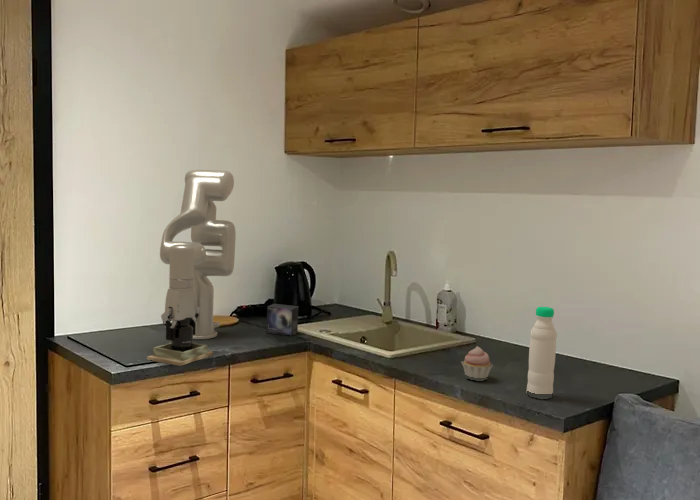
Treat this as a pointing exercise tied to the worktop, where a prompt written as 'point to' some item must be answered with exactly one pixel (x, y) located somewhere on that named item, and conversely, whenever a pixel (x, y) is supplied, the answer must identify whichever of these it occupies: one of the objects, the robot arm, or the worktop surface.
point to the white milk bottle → (542, 353)
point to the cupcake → (477, 363)
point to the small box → (282, 319)
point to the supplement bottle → (183, 336)
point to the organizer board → (179, 354)
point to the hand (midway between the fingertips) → (180, 337)
